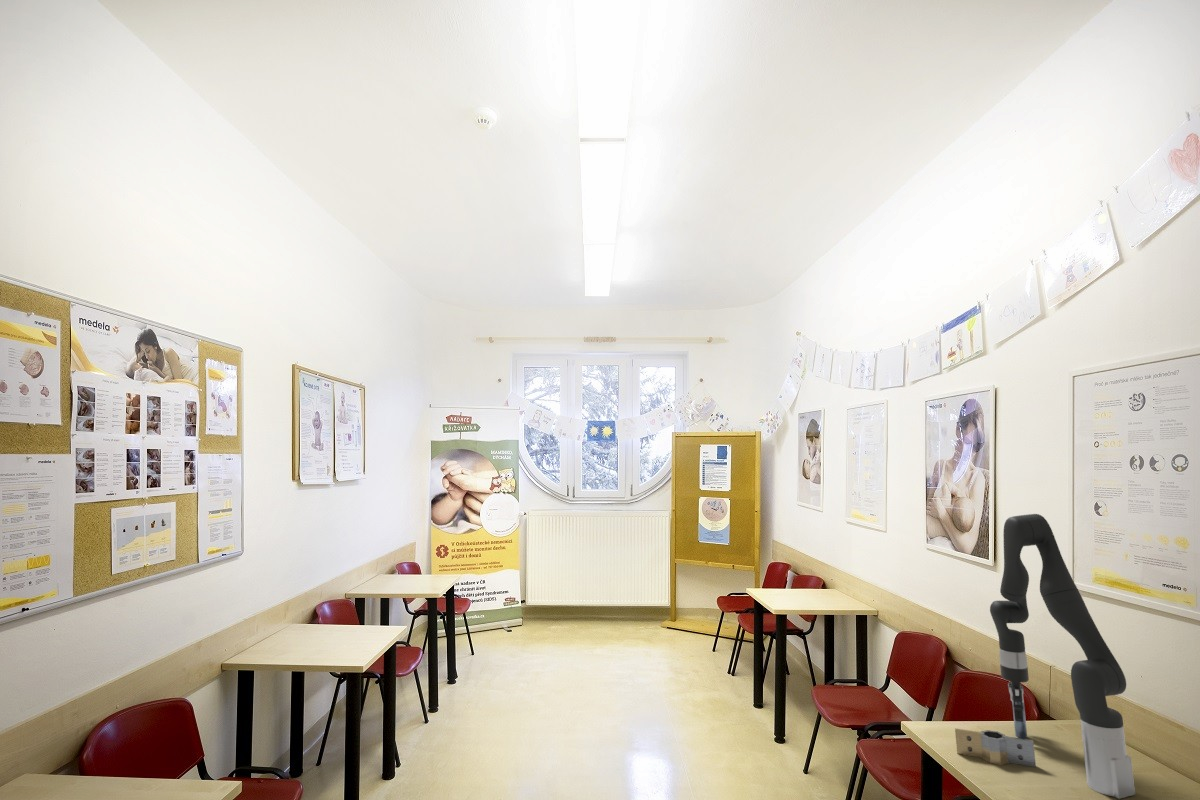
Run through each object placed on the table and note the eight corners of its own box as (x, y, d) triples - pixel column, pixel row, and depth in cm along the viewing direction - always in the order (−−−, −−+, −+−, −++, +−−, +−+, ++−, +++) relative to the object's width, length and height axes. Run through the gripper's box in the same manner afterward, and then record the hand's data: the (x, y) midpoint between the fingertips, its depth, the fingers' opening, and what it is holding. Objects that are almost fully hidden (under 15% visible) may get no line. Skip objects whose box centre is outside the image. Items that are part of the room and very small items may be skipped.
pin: (1029, 737, 202) (1025, 698, 203) (1022, 739, 201) (1018, 699, 202) (1020, 733, 205) (1016, 694, 206) (1013, 735, 204) (1009, 696, 205)
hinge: (1034, 761, 186) (1032, 736, 187) (1036, 771, 180) (1034, 745, 181) (957, 748, 196) (955, 725, 196) (957, 757, 190) (954, 732, 191)
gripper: (1029, 672, 197) (1034, 726, 196) (1025, 659, 209) (1030, 710, 208) (1001, 669, 201) (1005, 722, 199) (998, 656, 213) (1003, 706, 212)
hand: (1018, 716), depth 204 cm, fingers open, 8 cm apart
